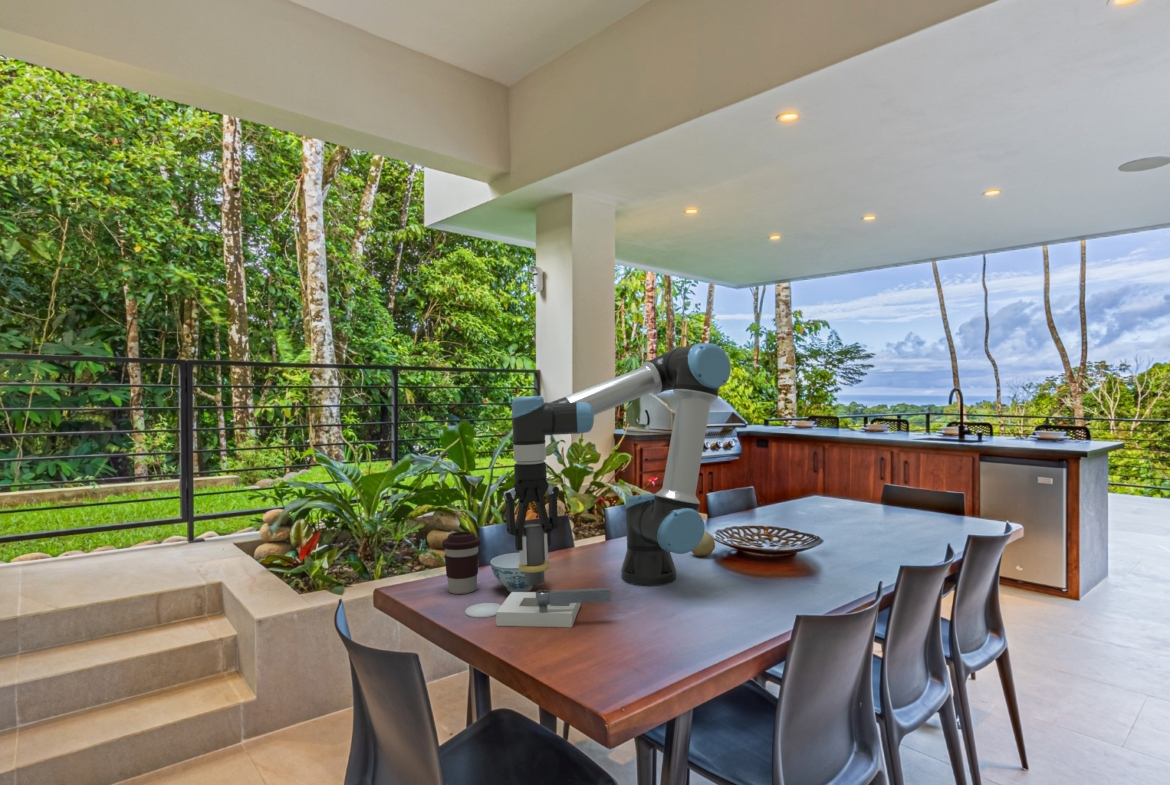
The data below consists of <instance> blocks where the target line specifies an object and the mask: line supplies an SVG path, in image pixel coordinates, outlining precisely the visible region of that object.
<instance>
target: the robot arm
mask: <svg viewBox="0 0 1170 785" xmlns="http://www.w3.org/2000/svg"><path fill="white" fill-rule="evenodd" d="M731 365H732V364H731V361H730V359H729V357H728V355H727V353H726V352H725V350H724V349H723V348H721V346H719V345H717V344H715V343H709V342H707V343H706V342H704V343H703V342H699V343H696V344H692V345H686V346H679V347H676V348H672V349H670V350H669V351H666V352H664V353H663V354H660V355H658V356H656V357H654V358H652V359H649V360H646V361H644V362H643V363H642V364H641V367H639V368H636V369H634V370H631V371H628V372H626V373H623V374H621V375H618V376H615V377H613V378H610V379H608V380H605V381H602V382H599V383H598V384H594V385H593V386H592V385H591V386H589V387H587V388H584V389H581V390H579V391H577V392H574V393H571V394H568V395H566V396H564V397H562V398H558V399H555V400H553V401H550V402H545V401H544V397H543V396H541V395H533V396H532V395H529V396H515V397H514V398H513V400H512V401H511V402H512V403H511V422H512V436H513V437H512V438H513V461H514V462H516V463H514V465H513V471H514V472H513V473H514V475H513V476H514V484H513V487H512V488H511V489H509V490H507V491H506V490H504V491H503V492H502V496H503V499H504V502H505V516H506V517H505V520H506V532H507V534H509V535H511V536H514V539H515V540H514V543H515V549H516V550H517V551H518V553H519V555H520V563H521V564H523V565H527V547H526V536H524V535H523V531H524V526H525V524H526V518H527V514H528V513H527V512H528V508H529V507H530V503H533V502H534V504H535V506H536V509H537V513H538V514H537V515H538V517H539V521H540V525H542V527H543V552H544V561H545V562H546V561H549V549H548V547H549V546H551V543H552V542H551V541H552V540H551V533H553V530H556V529H558V527H559V518H558V516H559V515H558V495H559V492H560V488H559V486H556V485H549V482H548V480H547V476H548V475H547V473H548V472H547V463H546V462H545V460H547V453H546V452H547V451H546V450H547V449H546V448H547V447H546V436H553V435H554V436H556V435H575V434H577V435H580V434H585V433H589V432H591V431H592V429H593V427H594V423H595V422H594V421H595V420H594V418H595V416H596V415H599V414H601V413H604V412H606V411H609V410H612V409H615V408H616V407H619V406H622V405H624V404H627V403H629V402H632V401H634V400H636V399H638V398H639V399H640V398H641V397H644V396H646V395H649V394H654V395H658V394H661V393H664V392H668V391H673V393H674V395H675V396H676V399H677V401H676V407H675V412H674V419H673V424H672V429H671V435H670V441H669V447H668V448H669V449H668V454H667V458H666V465H665V470H664V476H663V483H662V488H661V489H660V490H659V491H657V492H655V493H646V494H636V495H629V496H628V497H627V498H626V501H625V508H624V509H625V525H626V526H625V528H626V529H625V530H626V552H625V555H624V558H623V559H624V560H623V563H622V566H621V573H620V574H621V575H620V576H621V579H622V581H624V582H626V583H628V584H632V585H636V586H637V585H638V586H661V585H662V586H663V585H666V584H670V583H673V582H674V581H676V580H677V568H676V565H675V563H674V560H673V557H672V554H671V553H673V554H678V555H684V554H687V553H691V551H692V550H693V549H694V548H696V547H697V546H698V545H699V543H700V542H701V540H702V538H703V535H704V531H706V528H705V521H704V520H703V517H702V516H701V514H700V512H699V511H700V506H701V501H700V500H699V498H698V497H697V494H696V492H697V488H698V487H697V486H698V482H699V475H700V469H701V464H702V459H703V458H702V456H703V451H704V445H705V440H706V434H707V433H706V432H707V428H708V427H707V426H708V421H709V414H710V410H711V409H710V408H711V404H712V403H713V402H715V401H716V400H717V399H718V398H719V392H720V388H721V387H723V386H724V384H725V383H727V382H728V380H729V378H730V376H731V370H732V369H731V368H732V366H731ZM546 492H547V494H548V496H547V497H548V498H547V501H548V512H547V509H546V502H545V497H544V496H545V494H546ZM515 495H516V496H517V497H518V509H517V514H516V515H515V512H516V511H515V502H514V501H515V500H514V499H515ZM515 516H516V517H515Z"/></svg>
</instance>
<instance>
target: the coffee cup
mask: <svg viewBox="0 0 1170 785" xmlns="http://www.w3.org/2000/svg"><path fill="white" fill-rule="evenodd" d="M441 546H442V549H444V553H445V554H444V564H445V571H446V572H445V573H446V574H445V575H446V577H447V585H448V592H449V593H451V594H453V595H454V594H455V595H464V594H465V595H466V594H469V593H472V592H474V591H476V590H477V587H478V586H477V584H478V583H477V582H478V573H479V556H480V554H479V553H480V552H479V546H481V538H480V537H478V536H476V534H475V533H474V532H473V531H464V530H462V531H456V532H452V533H448V535H447V537H446V538H445V539H443V540H442V545H441Z"/></svg>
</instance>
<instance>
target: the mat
mask: <svg viewBox="0 0 1170 785" xmlns="http://www.w3.org/2000/svg"><path fill="white" fill-rule="evenodd" d="M501 605H502V604H499V603H497V602H496V603H495V602H483V603H482V602H481V603H476V604H473V605H472V604H471V606H468V607H466V608H465V611H464V612H465V615H466V616H468V617H470V618H474V619H482V618H483V619H484V618H492V617H495V616H496V612H497V610H498V609H499V608H500V607H501Z"/></svg>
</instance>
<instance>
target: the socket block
mask: <svg viewBox="0 0 1170 785" xmlns="http://www.w3.org/2000/svg"><path fill="white" fill-rule="evenodd" d="M581 604H582V603H564V604H549V605H545V606H539V605H536V591H527V592H510V593H509V595H508V596H507V597H506V599H505V600H504V602H502V604H500V605H501V607H500V608H499V609H498V610H497V612H496V615H495V616H496V617H495V618H496V626H497V627H499V626H501V627H502V626H503V627H504V626H505V627H540V628H543V627H545V628H546V627H547V628H572V627H573V626H574V623H575V620H576V617H577V615H578V613H579V610H580V607H581Z"/></svg>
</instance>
